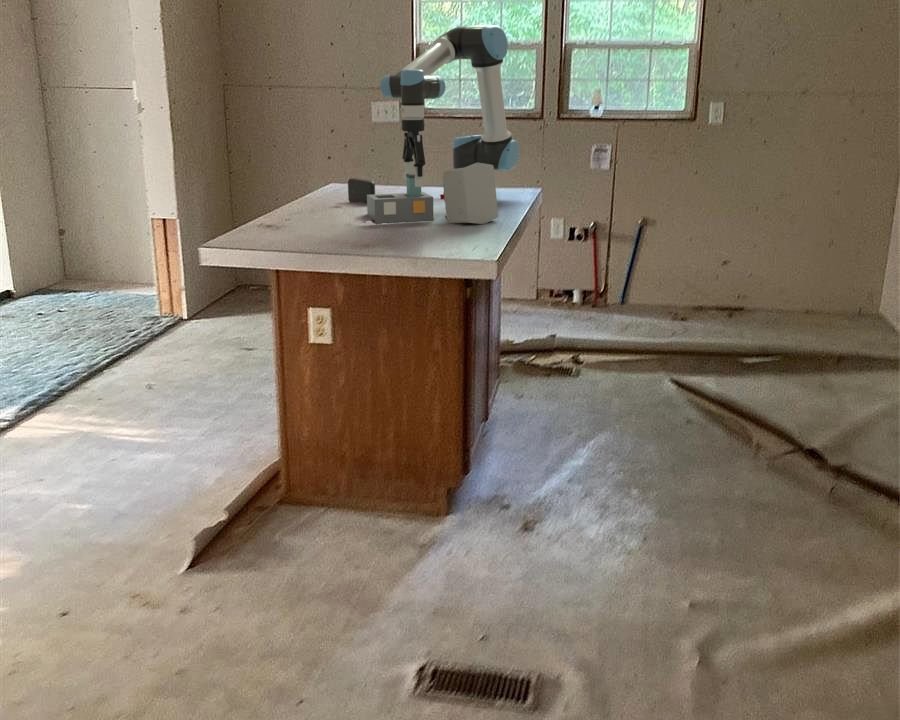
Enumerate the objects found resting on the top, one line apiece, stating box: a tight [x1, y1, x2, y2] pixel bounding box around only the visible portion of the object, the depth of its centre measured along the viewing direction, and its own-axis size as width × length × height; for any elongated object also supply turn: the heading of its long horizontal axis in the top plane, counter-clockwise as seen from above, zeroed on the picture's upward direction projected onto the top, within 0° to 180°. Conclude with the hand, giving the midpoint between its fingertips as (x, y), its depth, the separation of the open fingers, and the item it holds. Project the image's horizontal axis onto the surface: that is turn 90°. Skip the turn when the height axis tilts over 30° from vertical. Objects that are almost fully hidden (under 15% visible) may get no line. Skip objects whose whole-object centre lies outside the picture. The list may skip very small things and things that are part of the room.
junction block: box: [366, 191, 434, 225], centre depth 301 cm, size 20×12×8 cm, turn 107°
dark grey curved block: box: [347, 177, 376, 204], centre depth 331 cm, size 16×5×9 cm, turn 39°
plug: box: [406, 172, 422, 197], centre depth 301 cm, size 4×4×14 cm
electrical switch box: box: [439, 163, 499, 225], centre depth 297 cm, size 14×15×20 cm
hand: (413, 184), depth 300 cm, fingers open, 13 cm apart
